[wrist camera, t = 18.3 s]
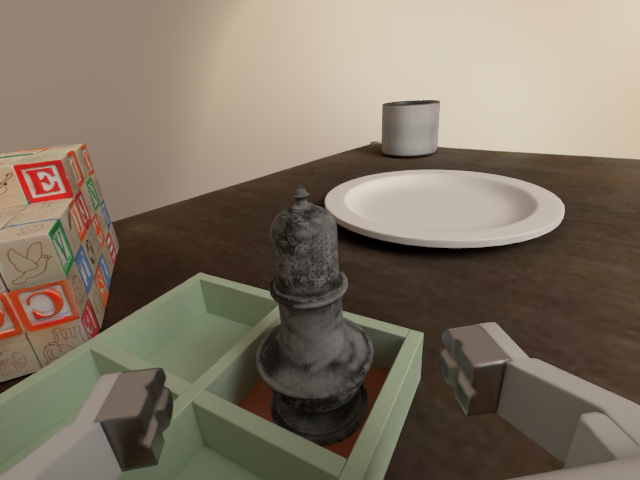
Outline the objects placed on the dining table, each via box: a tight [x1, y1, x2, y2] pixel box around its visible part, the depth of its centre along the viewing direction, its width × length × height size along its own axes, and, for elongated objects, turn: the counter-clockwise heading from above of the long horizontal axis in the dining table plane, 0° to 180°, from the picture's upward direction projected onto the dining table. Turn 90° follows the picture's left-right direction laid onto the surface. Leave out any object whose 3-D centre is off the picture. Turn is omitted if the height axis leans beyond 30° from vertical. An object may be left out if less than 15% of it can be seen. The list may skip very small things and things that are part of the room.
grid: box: [0, 273, 423, 480], centre depth 17 cm, size 17×17×3 cm
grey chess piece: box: [256, 185, 374, 446], centre depth 16 cm, size 6×6×12 cm
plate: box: [325, 170, 565, 248], centre depth 45 cm, size 28×28×2 cm
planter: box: [382, 100, 440, 158], centre depth 79 cm, size 13×12×11 cm
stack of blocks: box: [0, 144, 119, 382], centre depth 29 cm, size 21×6×12 cm, turn 25°
